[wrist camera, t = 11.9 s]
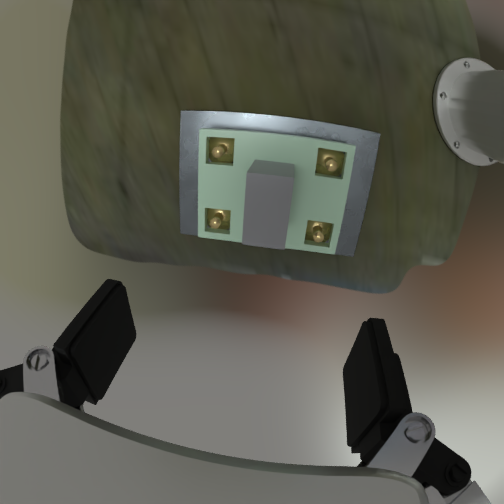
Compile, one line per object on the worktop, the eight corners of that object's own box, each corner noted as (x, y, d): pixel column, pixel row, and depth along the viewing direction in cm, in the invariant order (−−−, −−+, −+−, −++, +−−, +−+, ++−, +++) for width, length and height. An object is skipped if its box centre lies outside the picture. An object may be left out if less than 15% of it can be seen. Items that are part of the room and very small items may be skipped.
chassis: (377, 132, 26) (392, 138, 22) (351, 251, 33) (359, 275, 29) (185, 110, 28) (165, 112, 23) (183, 228, 35) (168, 248, 30)
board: (353, 144, 24) (369, 156, 19) (333, 249, 30) (340, 282, 25) (202, 127, 25) (179, 135, 20) (200, 232, 31) (182, 261, 26)
